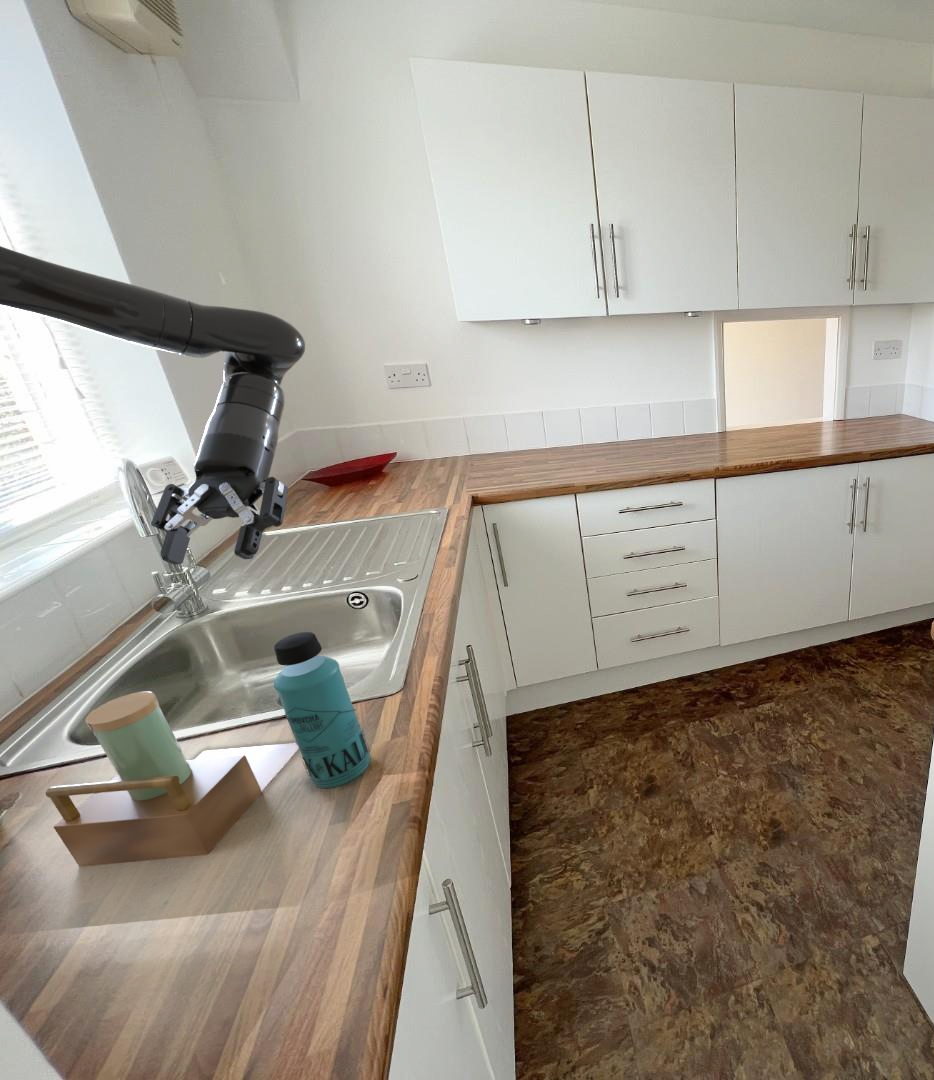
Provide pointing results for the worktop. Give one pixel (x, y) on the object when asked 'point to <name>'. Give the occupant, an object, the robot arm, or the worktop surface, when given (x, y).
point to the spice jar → (138, 741)
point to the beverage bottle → (319, 712)
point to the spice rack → (166, 807)
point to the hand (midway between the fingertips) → (207, 559)
